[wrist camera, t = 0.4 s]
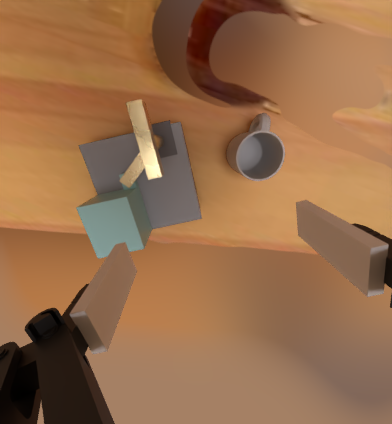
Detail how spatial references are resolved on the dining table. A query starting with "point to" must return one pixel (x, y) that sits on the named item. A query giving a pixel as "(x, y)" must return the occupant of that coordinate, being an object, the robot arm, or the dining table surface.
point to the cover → (116, 220)
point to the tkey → (143, 145)
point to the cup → (256, 151)
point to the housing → (150, 189)
